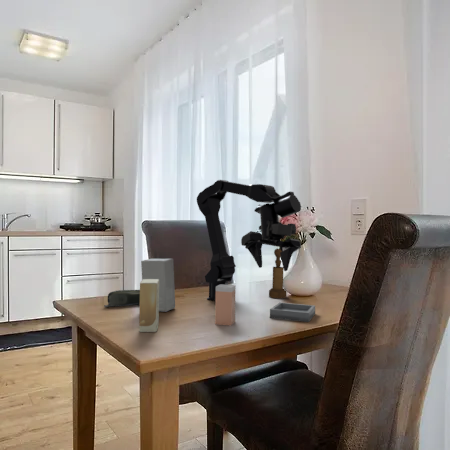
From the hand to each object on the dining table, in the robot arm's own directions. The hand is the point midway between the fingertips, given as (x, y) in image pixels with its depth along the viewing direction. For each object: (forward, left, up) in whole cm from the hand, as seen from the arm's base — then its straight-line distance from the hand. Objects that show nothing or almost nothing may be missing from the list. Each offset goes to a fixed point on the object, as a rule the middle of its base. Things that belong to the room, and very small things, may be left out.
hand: (273, 269), depth 116 cm
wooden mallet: (-6, +27, -14) cm, 31 cm away
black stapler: (-47, -9, -14) cm, 49 cm away
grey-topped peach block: (-9, -17, -13) cm, 23 cm away
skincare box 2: (-24, -31, -14) cm, 41 cm away
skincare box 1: (-34, -11, -14) cm, 38 cm away
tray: (+6, -1, -13) cm, 15 cm away
